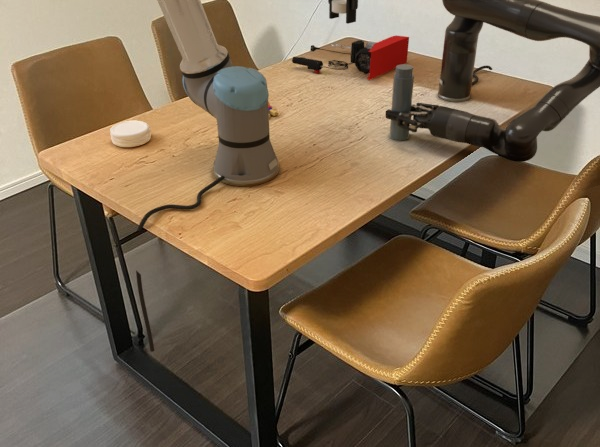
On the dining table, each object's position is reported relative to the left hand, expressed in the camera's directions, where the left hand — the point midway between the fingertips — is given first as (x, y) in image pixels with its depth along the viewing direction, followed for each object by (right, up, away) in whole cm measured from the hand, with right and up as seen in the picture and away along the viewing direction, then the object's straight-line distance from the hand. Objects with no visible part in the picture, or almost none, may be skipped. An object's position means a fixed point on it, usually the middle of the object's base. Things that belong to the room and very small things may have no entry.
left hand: (342, 19), depth 157 cm
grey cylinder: (+15, -29, +4) cm, 33 cm away
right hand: (+13, -23, +2) cm, 26 cm away
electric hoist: (+6, +2, +53) cm, 54 cm away
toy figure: (-23, -20, +19) cm, 36 cm away
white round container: (-55, -30, +4) cm, 62 cm away
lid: (0, +4, -2) cm, 4 cm away
